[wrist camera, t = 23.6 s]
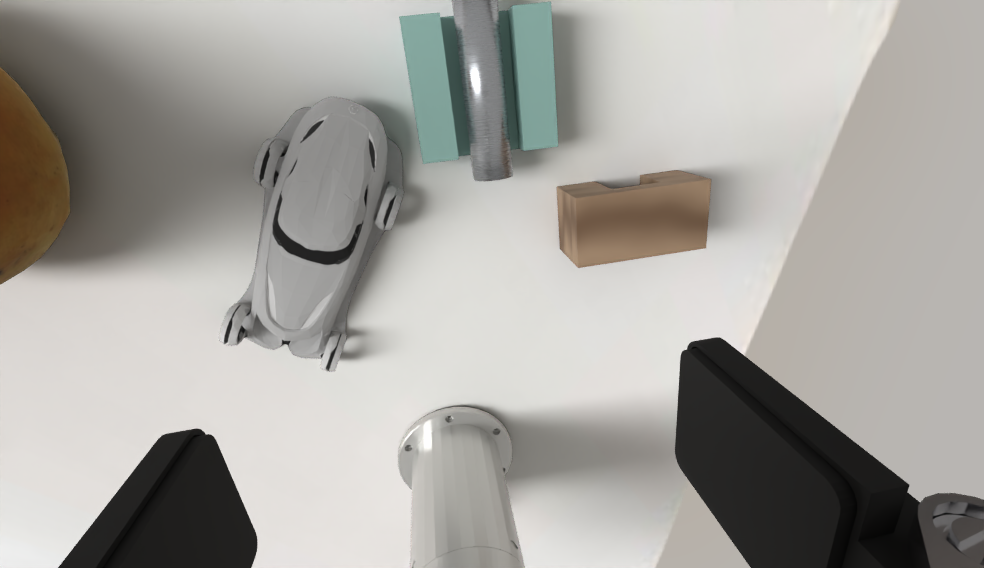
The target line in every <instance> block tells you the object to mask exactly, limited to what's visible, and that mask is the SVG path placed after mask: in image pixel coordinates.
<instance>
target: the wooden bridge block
mask: <svg viewBox="0 0 984 568" xmlns="http://www.w3.org/2000/svg"><path fill="white" fill-rule="evenodd" d="M710 189H711V179H708V178H705V177H701V176H697V175H693V174H689V173H686V172H682V171H678V170H674V171H667V172H660V173H653V174H645V175H640V185H637V186H630V187H623V188H615V189H610V188H608V187H606V186H604V185H601V184H599V183H597V182H595V181H594V182H587V183H580V184H573V185H565V186H558V187H557V201H558V220H559V239H560V249H561V250H562V252H563V253H564V254H565V255H566V256H567V257H568V258H569V259H570V260H571V261H572V262H573V263H574V264H575V265H576V266H577V267H578V268H581V267H587V266H594V265H600V264H607V263H613V262H620V261H626V260H632V259H639V258H645V257H652V256H658V255H665V254H671V253H677V252H684V251H690V250H697V249H703V248H706V241H707V228H708V215H709V202H710Z"/></svg>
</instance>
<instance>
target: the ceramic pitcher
mask: <svg viewBox="0 0 984 568" xmlns="http://www.w3.org/2000/svg"><path fill="white" fill-rule="evenodd" d="M69 214H70V186H69V179H68V171H67V166H66V163H65V160H64V157H63V154H62V151H61V145H60V142H59V140H58V138H57V135H56V134H55V133H54V132H53V131H52V130H51V129H50V127H49V126H48V124H47V123H46V122H45V121H44V119H43V118H42V116H41V115H40V113H39V112H38V110H37V109H36V107H35V106H34V104H33V102H32V101H31V100H30V99H29V97H28V96H27V95H26V93H25V92H24V91H23V90H22V88H21V87H20V86H19V85H18V83H17V82H16V81H14V80H13V79H12V78H11V77H10V76H9V75H8V74H7V73H6V72H5V71H4V70H3V69H2V68H1V67H0V284H2V283H4V282H6V281H7V280H9V279H11V278H12V277H14V276H15V275H17V274H19V273H20V272H22V271H24V270H25V269H26V268H28V267H29V266H30V265H32V264H33V263H34V262H36V261H37V260H38V259H40V258H41V257H42V255H43V254H44V253H45V252H46V251H47V250H48V249H49V247H50V246H51V245H52V243H53V242H54V241H55V239H56V238H57V237H58V235H59V233H60V231H61V229H62V227H63V224H64V223H65V221H66V219H67V218H68V216H69Z"/></svg>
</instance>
